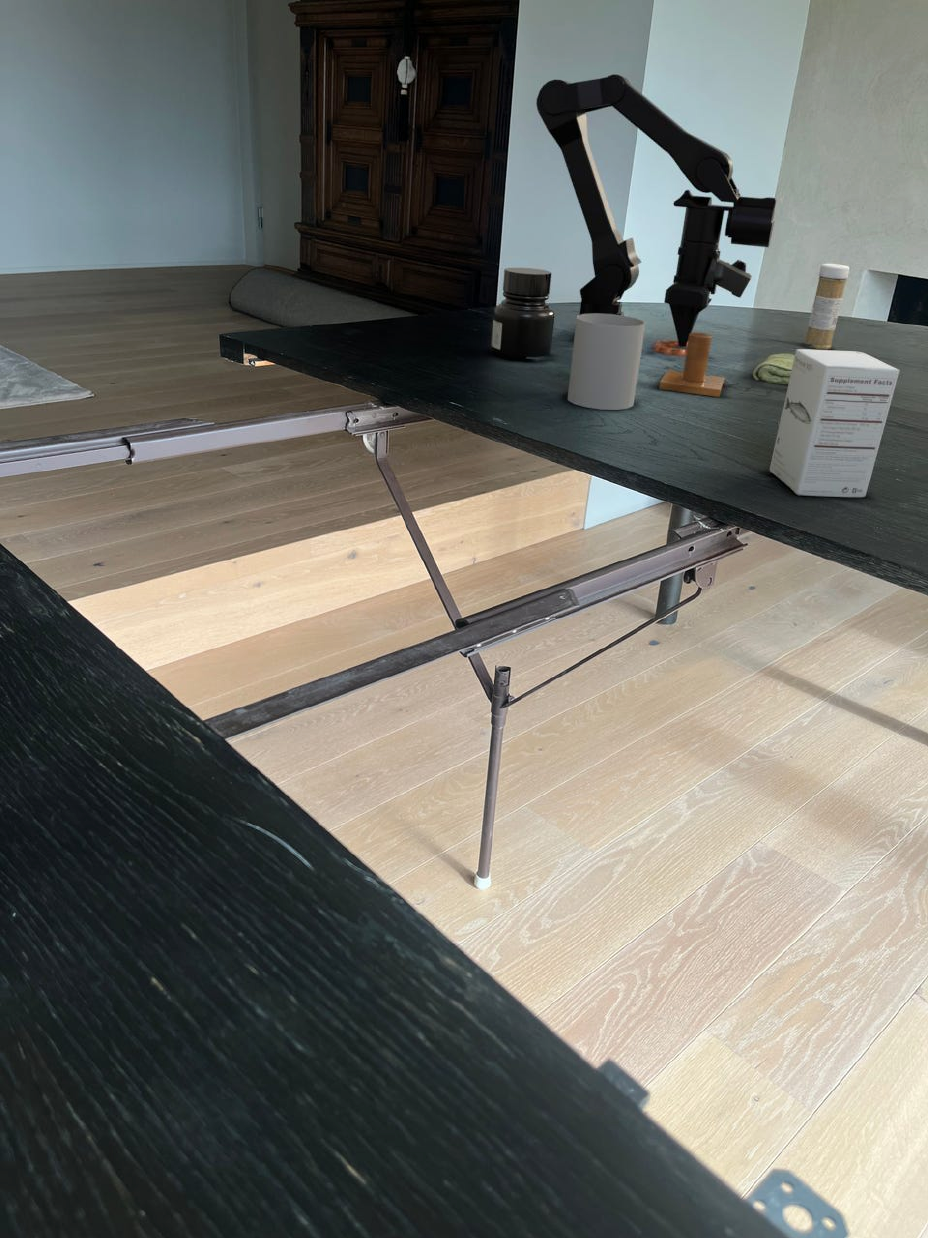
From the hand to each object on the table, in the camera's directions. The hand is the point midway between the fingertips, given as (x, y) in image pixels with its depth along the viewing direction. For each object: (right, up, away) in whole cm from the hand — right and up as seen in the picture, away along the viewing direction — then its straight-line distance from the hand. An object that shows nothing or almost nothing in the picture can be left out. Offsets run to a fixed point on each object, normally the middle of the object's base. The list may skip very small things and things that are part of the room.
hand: (683, 345), depth 153 cm
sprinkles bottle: (+26, +3, +11) cm, 28 cm away
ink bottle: (-27, -5, -10) cm, 29 cm away
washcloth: (+16, -11, -16) cm, 25 cm away
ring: (-1, -2, -3) cm, 4 cm away
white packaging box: (0, -31, -57) cm, 65 cm away
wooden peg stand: (-4, -12, -22) cm, 25 cm away
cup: (-18, -16, -32) cm, 40 cm away
